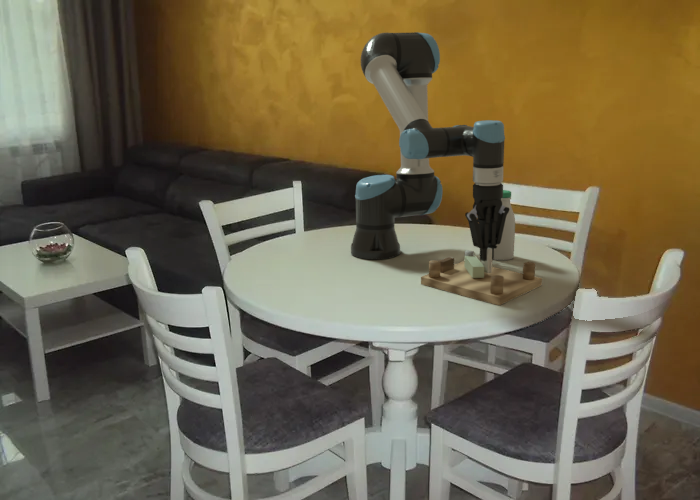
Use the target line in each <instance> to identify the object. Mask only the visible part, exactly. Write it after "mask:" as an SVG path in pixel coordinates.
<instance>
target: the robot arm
mask: <svg viewBox="0 0 700 500" xmlns="http://www.w3.org/2000/svg"><path fill="white" fill-rule="evenodd" d="M440 62H441V54H440V47H439V45H438V43H437V41H436V39H435V38H434V36H433V35H431V34H429V33H427V32H426V33H425V32H418V31H417V32H415V31H414V32H380V33H378V34H376V35H374V36H372V37H371V38H370V39H368V41H367V42H366V44H365V45H364V46H363V48H362V51H361V56H360V67H361V71H362V73H363V75H364V77H365V79H366V80H367V82H369V83H370V84H372V85H373V86H374V87H375V88H374V89H376V91H377V92H378V95H379V96H380V97H381V98H380V99H381V100H382V102H383V103H384V105H385V107H386V109H387V110H388V112H389V115H390V116H391V117H392V119H393V121H394V123H395V124H396V126H397V127H398V130H399V139H398V140H399V141H398V144H399V149H400V168H398V170H397V171H396V172H395V173H396V179H395V176H394V175H391V174H377V175H376V174H375V175H371V176H366V177H363V178H362V179H360V180H359V181H358V182H357V183H356V186H355V195H354V197H355V224H356V225H355V226H356V227H355V231H354V235H353V239H352V243H351V245H350V254H351V256H353V257H356V258H357V259H358V258H359V259H363V260H386V259H391V258H395V257H397V256H399V255H400V254H401V245H400V243H399V240H398V236H397V232H396V230H395V229H396V228H395V218H402V217H403V218H404V217H411V216H424V215H429V214H433V213H434V212H436V211H437V210H438V208H439V207H440V205H441V202H442V201H443V185H442V183H441V182H442V181H441V180H440V179H441V178H439V177H438V176H436V175H435V170H434V168H432V167H431V165H430V159H434V158H435V159H436V158H447V157H460V156H467V157H472V159H473V161H472V181H473V185H472V197H473V201H474V202H473V205H472V209H471V210H470V211H469V212H468V211H466V212H465V215H464V216H465V218H466V220H467V221H468V226H469V227H468V228H469V231H470V236H471V239H472V245H473V247H476V248H479V260H480V262H481V263H482V264H483V265H484V272H486V273H492V267H493V258H494V249H496V248H497V246H496V245H497V244H500V243H501V238H502V233H503V229H504V224H505V220H506V216H507V214H508V212H509V208H508V207H505V206H503V205H502V201H501V198H502V197H503V190H504V184H503V183H502V182H503V181H504V163H505V161H504V160H505V139H506V137H505V124H504V123H503V122H502V121H501V120H490V119H487V120H485V119H484V120H478V121H474V124H473V126H471V125H467V124H456V125H453V126H448V127H432V125H431V123H430V122H429V103H428V102H429V100H428V98H429V97H428V85H429V83H430V82H431V81H433V74H434V73H436V71H437V70H438V69H439V65H440ZM496 238H497V239H496Z"/></svg>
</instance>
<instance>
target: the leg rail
mask: <svg viewBox="0 0 700 500" xmlns="http://www.w3.org/2000/svg"><path fill="white" fill-rule="evenodd" d="M464 261H465V262H464V267H465V268H466V270H467V271H468V272H469V274H470V275H471V276H472V278H484V265H483V264H482V263H481V260H480V258H478V257H477V256H476V255H475V252H474V250H465V251H464Z"/></svg>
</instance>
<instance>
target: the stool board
mask: <svg viewBox="0 0 700 500" xmlns="http://www.w3.org/2000/svg"><path fill="white" fill-rule="evenodd" d="M464 262H465V260H462V261H461V262H457V263H455V258H454V257H450V256H447V257H445V258H442V259H438V260H436V259H435V260H430V261H428V274H425V275H421V276H420V285H422V286H427V287H431V288H434V289H438V290H441V291H446V292H449V293H453V294H456V295H460V296H463V297H467V298H471V299H474V300H478V301H482V302H485V303H488V304H493V305H496V306H501V305H504V304H506V303H508V302H510V301H511V300H514V299H516V298H519V297H520V296H523V295H525V294H526V293H528V292H529V293H530V292H531V291H533V290H535V289H537V288H540V287H541V286H542V284H543V277H539V276H536V263H535V262H533V261H524V262H523V265H522V273H521V272H517V271H513V270H508V269H504V268H499V267H496V266H492V273H486V272H484V278H472V276H471V275H470V274H469V272H468V271H467V270H466V268H465V267H464Z"/></svg>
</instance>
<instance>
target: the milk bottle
mask: <svg viewBox="0 0 700 500" xmlns="http://www.w3.org/2000/svg"><path fill="white" fill-rule="evenodd" d="M511 200H512V191H511V190H507V189H503V197H502V198H501V201H502V205H503V206H505V207H508V208H509V212H508V214H507V216H506V220H505V224H504V229H503V233H502V238H501V243H500V244H497V245H496V246H497V248H496V249H494V258H493V259H492V261H493V260H494V261H510V260H512V259H513V258H514V255H515V254H514V252H515V239H516V238H515V235H516V232H515V231H516V217H515V213H514V211H513V207H512V203H511ZM496 239H497V238H496Z"/></svg>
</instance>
